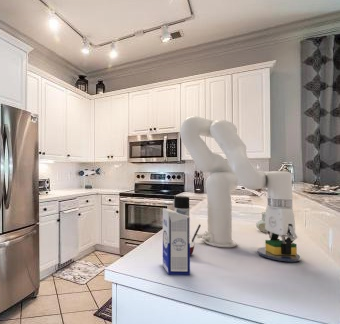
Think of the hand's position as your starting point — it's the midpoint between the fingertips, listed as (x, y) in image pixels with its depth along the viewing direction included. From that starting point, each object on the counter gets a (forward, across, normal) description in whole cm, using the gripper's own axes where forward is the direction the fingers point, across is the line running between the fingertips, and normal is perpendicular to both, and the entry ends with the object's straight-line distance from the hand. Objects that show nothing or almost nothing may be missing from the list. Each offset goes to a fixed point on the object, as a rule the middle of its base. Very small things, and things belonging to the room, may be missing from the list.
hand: (280, 251), depth 94 cm
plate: (+2, 0, -1) cm, 2 cm away
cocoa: (+2, -1, -35) cm, 35 cm away
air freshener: (+2, -37, +21) cm, 43 cm away
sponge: (+1, 0, 0) cm, 1 cm away
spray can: (+2, -21, -30) cm, 37 cm away
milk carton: (+2, +14, -44) cm, 46 cm away
